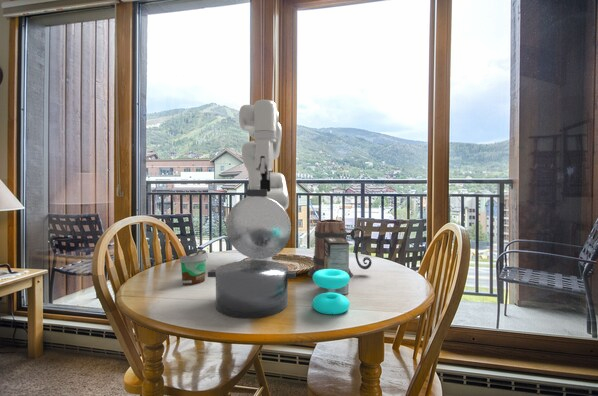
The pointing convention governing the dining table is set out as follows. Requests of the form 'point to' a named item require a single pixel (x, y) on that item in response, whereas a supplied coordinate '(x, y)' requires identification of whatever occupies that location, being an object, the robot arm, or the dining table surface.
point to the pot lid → (258, 225)
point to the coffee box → (337, 258)
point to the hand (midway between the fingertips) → (265, 191)
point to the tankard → (333, 230)
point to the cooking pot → (251, 288)
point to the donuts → (330, 301)
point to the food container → (193, 267)
